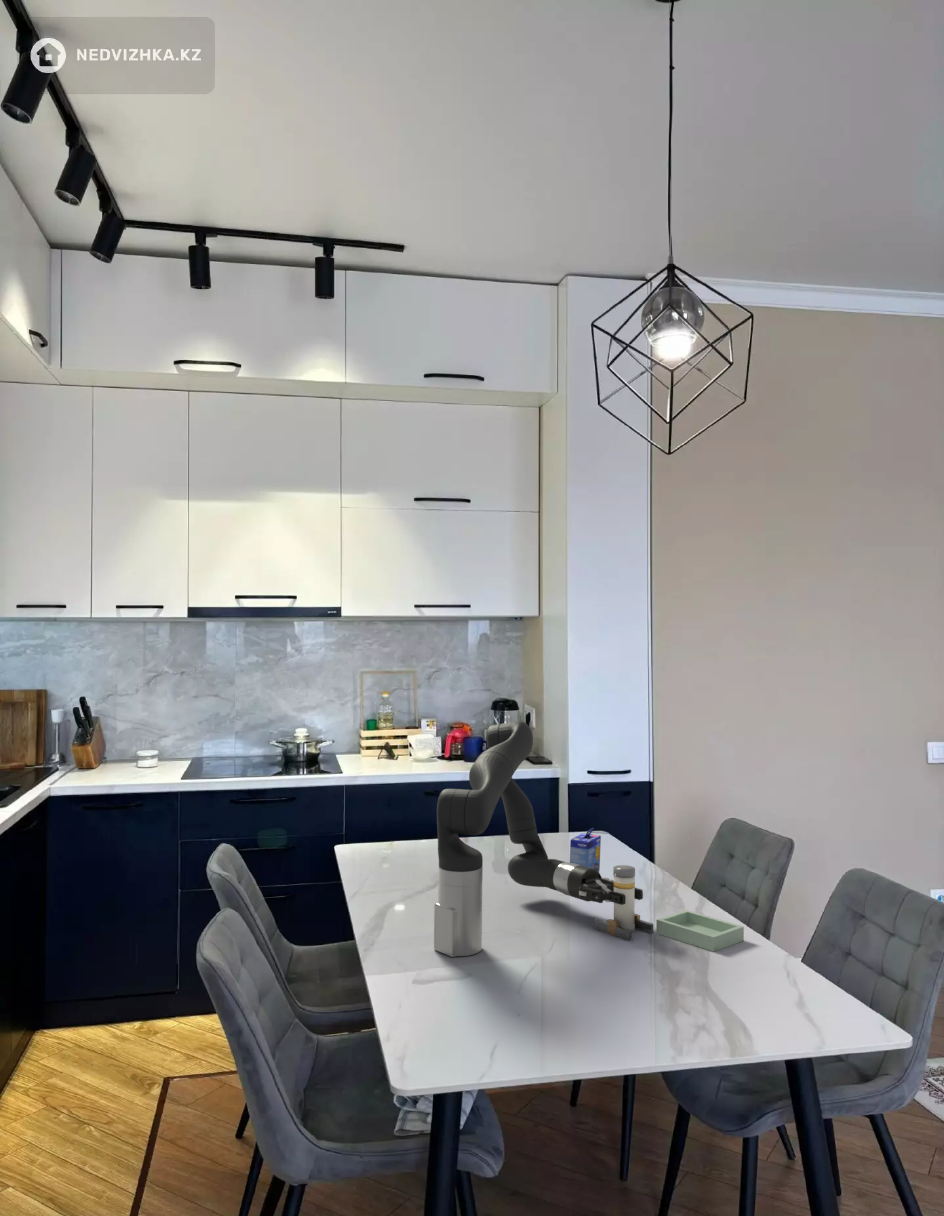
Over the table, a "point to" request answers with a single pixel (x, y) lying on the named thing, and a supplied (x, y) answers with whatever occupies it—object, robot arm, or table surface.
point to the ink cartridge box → (586, 850)
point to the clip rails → (616, 930)
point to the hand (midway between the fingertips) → (633, 897)
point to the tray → (700, 930)
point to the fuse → (626, 886)
